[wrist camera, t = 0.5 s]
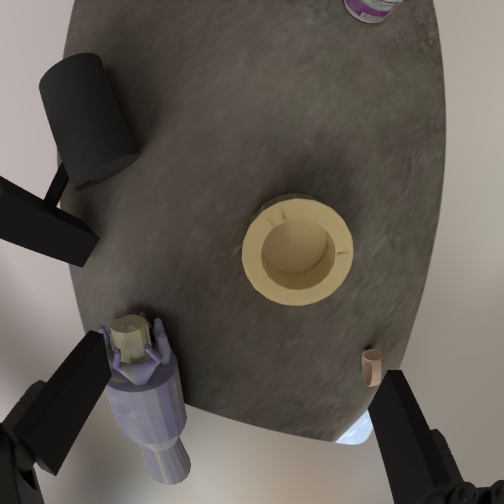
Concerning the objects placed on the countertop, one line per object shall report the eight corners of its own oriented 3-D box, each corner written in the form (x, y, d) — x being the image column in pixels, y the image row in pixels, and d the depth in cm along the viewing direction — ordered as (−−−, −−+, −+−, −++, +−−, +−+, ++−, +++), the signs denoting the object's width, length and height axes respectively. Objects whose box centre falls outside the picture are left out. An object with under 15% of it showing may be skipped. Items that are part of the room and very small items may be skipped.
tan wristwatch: (376, 342, 36) (388, 365, 31) (372, 368, 37) (382, 391, 32) (358, 344, 36) (368, 368, 31) (354, 371, 37) (363, 395, 32)
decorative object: (204, 478, 37) (180, 337, 28) (145, 489, 33) (80, 350, 24) (187, 435, 46) (164, 294, 37) (134, 444, 42) (88, 303, 33)
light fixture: (67, 37, 21) (-36, 181, 19) (129, 33, 16) (-22, 245, 15) (129, 108, 36) (47, 223, 34) (198, 135, 31) (95, 282, 29)
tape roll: (249, 188, 30) (246, 193, 26) (348, 199, 30) (361, 206, 26) (242, 282, 34) (238, 301, 29) (333, 289, 33) (342, 308, 29)
